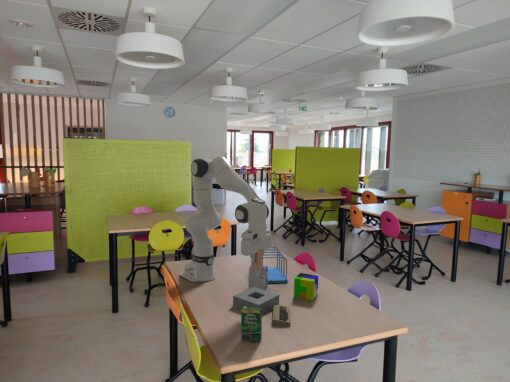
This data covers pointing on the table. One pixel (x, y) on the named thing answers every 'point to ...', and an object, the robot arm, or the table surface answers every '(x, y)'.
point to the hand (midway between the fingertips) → (257, 260)
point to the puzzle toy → (306, 286)
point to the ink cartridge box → (258, 278)
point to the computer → (281, 316)
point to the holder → (256, 299)
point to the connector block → (258, 261)
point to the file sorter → (276, 269)
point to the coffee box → (251, 324)
